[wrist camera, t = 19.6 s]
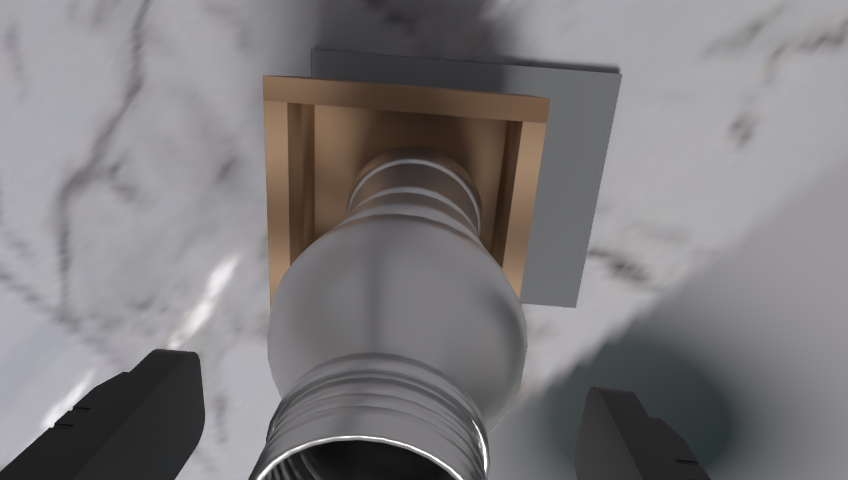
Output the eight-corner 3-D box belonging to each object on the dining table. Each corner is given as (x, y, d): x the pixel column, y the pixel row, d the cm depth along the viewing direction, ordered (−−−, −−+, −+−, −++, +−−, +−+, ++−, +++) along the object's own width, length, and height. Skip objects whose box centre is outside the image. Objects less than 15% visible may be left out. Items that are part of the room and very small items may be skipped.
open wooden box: (314, 76, 28) (262, 75, 20) (519, 93, 28) (550, 98, 20) (313, 266, 32) (271, 329, 24) (493, 281, 31) (511, 350, 23)
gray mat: (312, 49, 28) (311, 49, 27) (619, 74, 28) (622, 74, 27) (312, 283, 33) (311, 285, 32) (573, 305, 32) (575, 307, 32)
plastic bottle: (381, 119, 25) (190, 254, 6) (499, 170, 25) (685, 443, 6) (339, 228, 27) (96, 600, 8) (450, 272, 27) (480, 715, 8)
